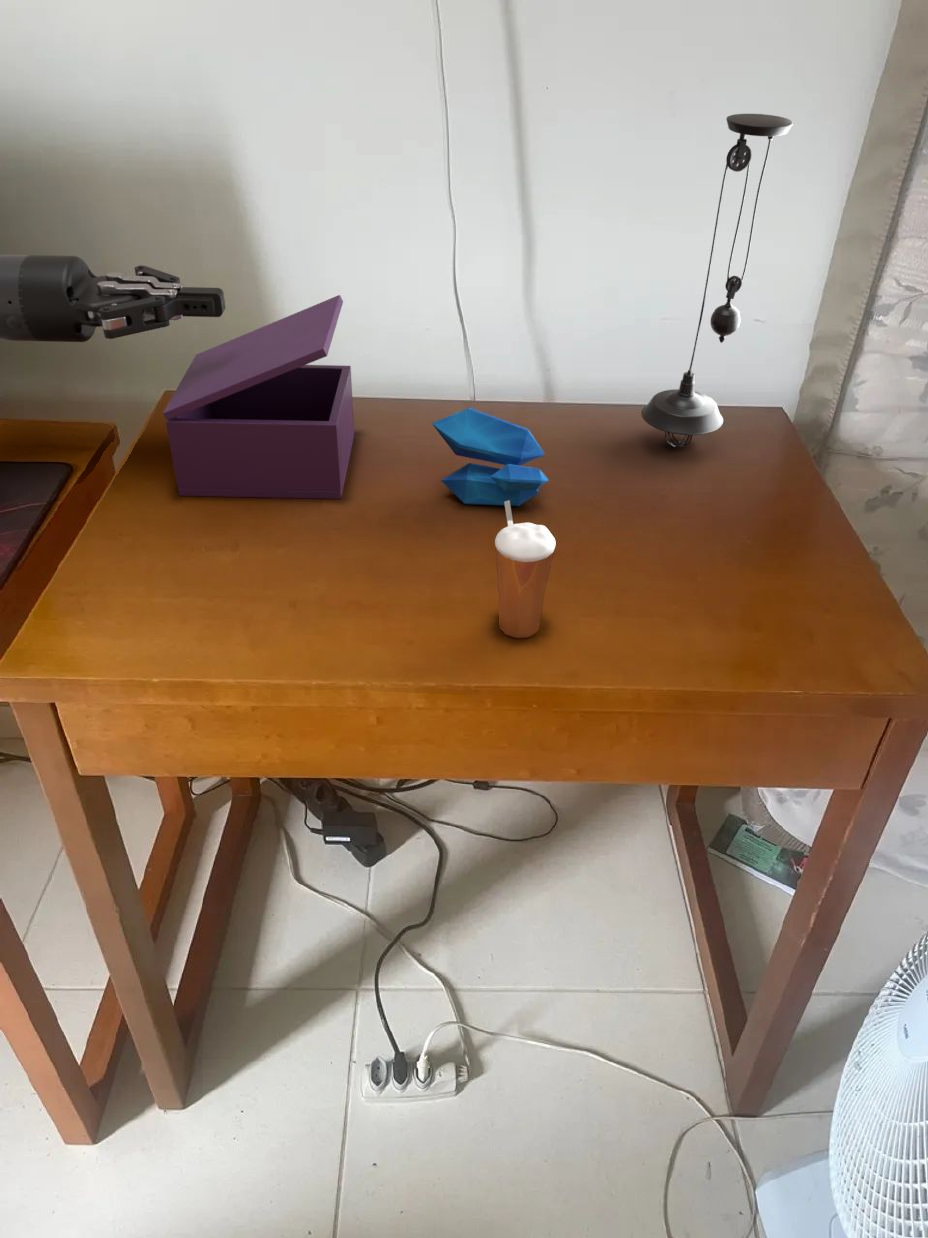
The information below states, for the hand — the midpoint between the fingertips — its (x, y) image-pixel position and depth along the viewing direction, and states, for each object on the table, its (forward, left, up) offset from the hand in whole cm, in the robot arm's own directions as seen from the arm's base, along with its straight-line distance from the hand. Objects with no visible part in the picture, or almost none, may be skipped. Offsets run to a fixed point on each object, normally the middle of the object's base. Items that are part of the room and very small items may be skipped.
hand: (222, 302), depth 90 cm
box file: (+3, 0, -16) cm, 17 cm away
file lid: (+3, 0, -5) cm, 6 cm away
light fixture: (+46, +6, -17) cm, 49 cm away
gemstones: (+25, -6, -17) cm, 30 cm away
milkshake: (+27, -26, -17) cm, 41 cm away
